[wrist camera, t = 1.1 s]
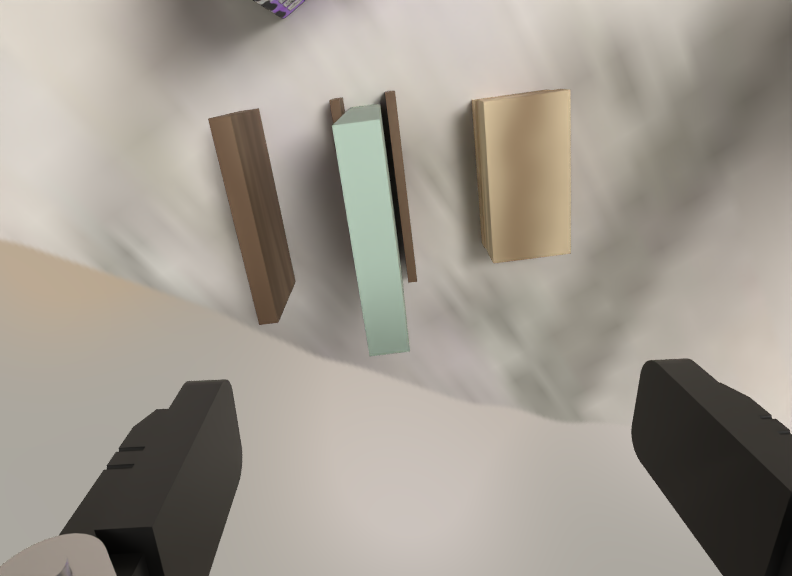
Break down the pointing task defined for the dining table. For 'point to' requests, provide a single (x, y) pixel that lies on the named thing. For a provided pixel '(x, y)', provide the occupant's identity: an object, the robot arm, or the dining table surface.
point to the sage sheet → (372, 227)
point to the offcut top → (527, 174)
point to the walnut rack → (260, 208)
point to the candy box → (280, 6)
